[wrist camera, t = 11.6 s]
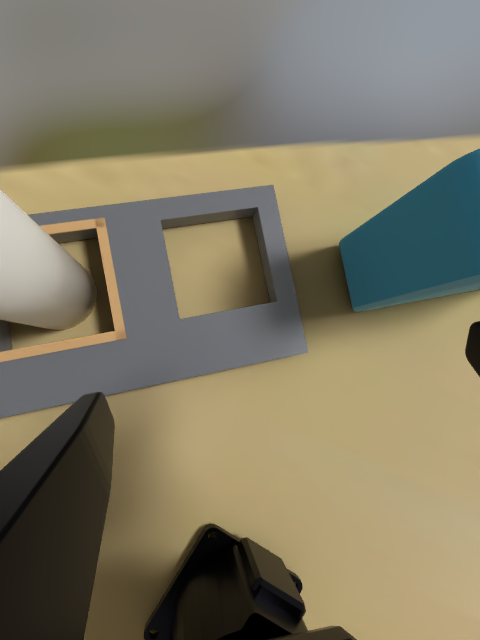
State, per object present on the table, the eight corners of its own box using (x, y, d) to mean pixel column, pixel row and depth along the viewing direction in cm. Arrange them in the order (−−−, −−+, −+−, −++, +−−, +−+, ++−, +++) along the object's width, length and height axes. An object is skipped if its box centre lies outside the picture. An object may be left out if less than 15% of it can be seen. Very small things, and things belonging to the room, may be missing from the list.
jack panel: (299, 352, 23) (309, 352, 21) (-2, 416, 19) (-18, 421, 18) (267, 195, 23) (273, 183, 22) (-32, 233, 20) (-49, 223, 18)
